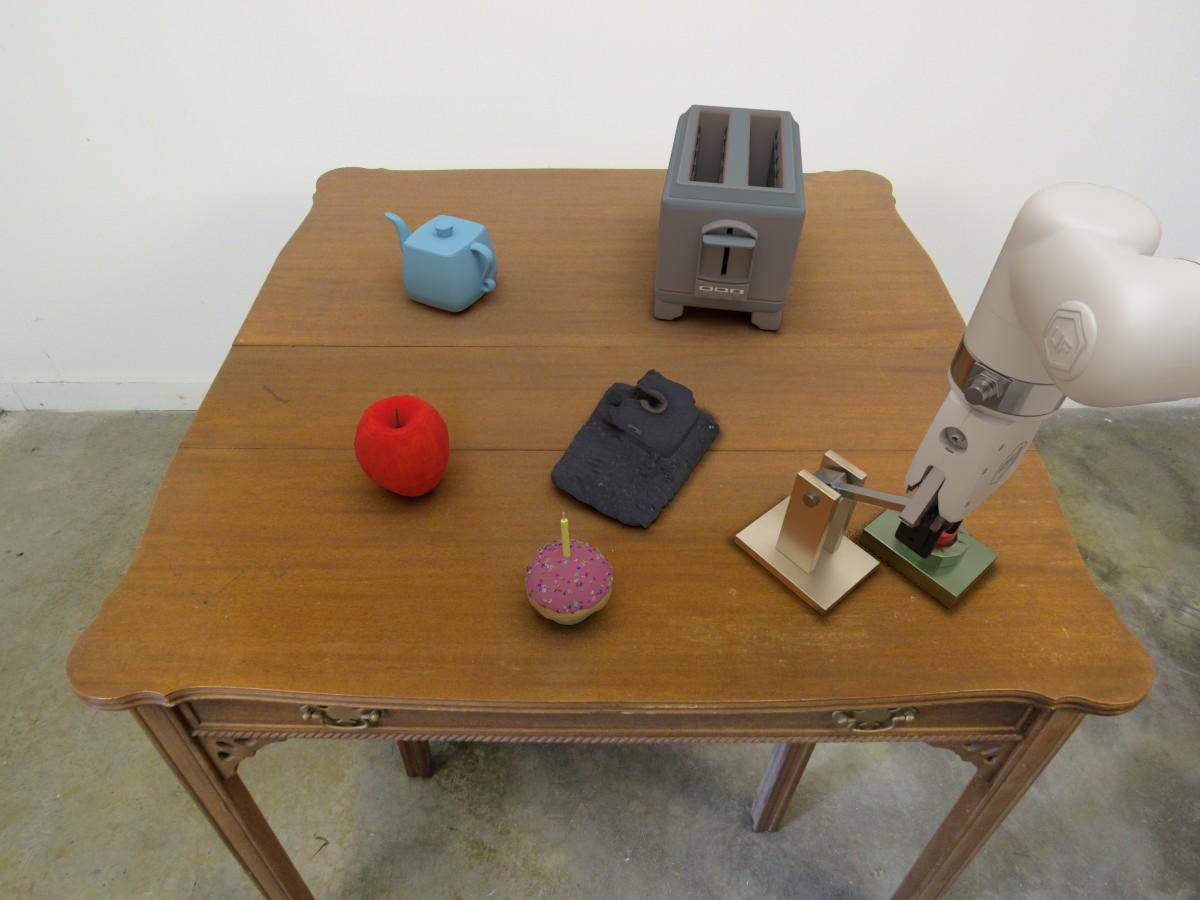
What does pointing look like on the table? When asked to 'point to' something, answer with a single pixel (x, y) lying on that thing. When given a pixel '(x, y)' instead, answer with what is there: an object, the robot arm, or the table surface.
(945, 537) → the button
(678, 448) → the dark gray ringed slab
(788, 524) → the switch bracket
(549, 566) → the cupcake
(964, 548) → the button housing
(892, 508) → the lever
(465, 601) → the table surface
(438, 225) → the teapot
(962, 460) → the robot arm
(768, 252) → the toaster
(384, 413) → the apple
